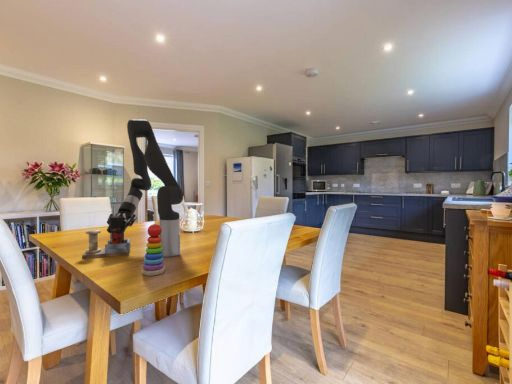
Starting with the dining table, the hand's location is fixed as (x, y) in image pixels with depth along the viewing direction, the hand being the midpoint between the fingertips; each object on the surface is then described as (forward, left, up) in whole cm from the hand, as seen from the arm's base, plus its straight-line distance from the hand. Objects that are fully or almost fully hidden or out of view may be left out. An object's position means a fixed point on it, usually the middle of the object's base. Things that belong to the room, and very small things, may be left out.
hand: (114, 232), depth 124 cm
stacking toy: (-16, +36, -11) cm, 41 cm away
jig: (+3, -1, -11) cm, 11 cm away
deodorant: (-1, -2, -8) cm, 8 cm away
